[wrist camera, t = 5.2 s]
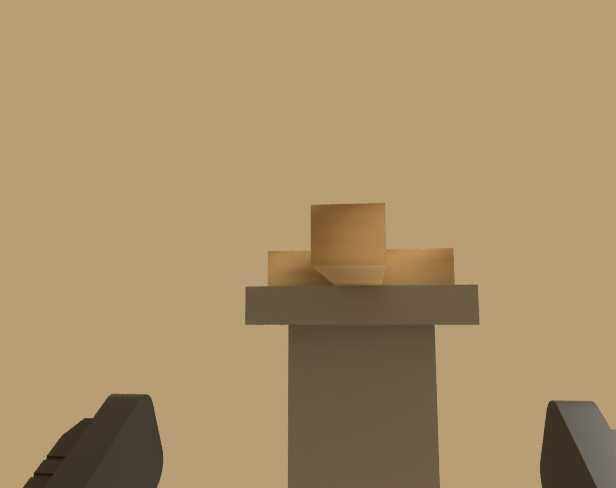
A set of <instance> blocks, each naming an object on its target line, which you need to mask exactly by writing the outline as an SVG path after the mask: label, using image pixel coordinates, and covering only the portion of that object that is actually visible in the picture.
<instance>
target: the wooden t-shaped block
mask: <svg viewBox="0 0 616 488" xmlns="http://www.w3.org/2000/svg"><path fill="white" fill-rule="evenodd" d="M385 237H386V236H385V203H371V204H370V203H368V204H331V205H311V251H269V252H268V286H379V285H454V259H453V248H445V249H386V238H385Z"/></svg>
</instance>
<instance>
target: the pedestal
mask: <svg viewBox="0 0 616 488" xmlns="http://www.w3.org/2000/svg"><path fill="white" fill-rule="evenodd" d="M245 324H247V325H248V324H249V325H250V324H251V325H252V324H253V325H264V324H266V325H271V324H273V325H276V324H277V325H279V324H280V325H286V324H288V325H289V358H288V359H289V360H288V361H289V362H288V364H289V365H288V375H289V376H288V379H289V380H288V488H440V481H439V452H438V420H437V392H436V390H437V389H436V359H435V329H434V325H435V324H436V325H458V324H459V325H461V324H462V325H468V324H469V325H475V324H476V325H479V306H478V285H379V286H264V287H263V286H262V287H246V308H245Z"/></svg>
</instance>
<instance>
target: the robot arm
mask: <svg viewBox="0 0 616 488" xmlns="http://www.w3.org/2000/svg"><path fill="white" fill-rule="evenodd" d="M162 467H163V451H162V445H161V441H160V436H159V431H158V426H157V422H156V417H155V412H154V407H153V403H152V400H151V398H150V396H149V395H146V394H112V395H110V396H109V397H108V398H107V399H106V401H105V402H104V403H103V405H102V406H101V408H100V409H99V410H98V412H97V413H96V415H95V416H94V418H93V419H92V418H85V419H83V420H82V421H80V422H79V423H78V424H77V425H75V426H74V427H73V428H71V429H70V430H69V431H68V432H66V433H65V434H63V435H62V436H61V438H60V439H59V440H58V442H57V443H56V444H55V446H54V447H53V448H52V450H51V451H50V452H49V454H48V455H47V459H46V460H43V462H42V463H41V464H40V466H39V467H38V469H37V470H36V471H35V472H34V477H31V478H30V479H29V480H28V482H27V483H26V484H25V486H24V487H23V488H157V485H158V483H159V480H160V477H161V473H162ZM540 474H541V483H542V488H616V430H611V429H610V427H609V426H608V424H607V422H606V420H605V418H604V417H603V415H602V414H601V412H600V410H599V408H598V407H597V405H596V404H595V403H594V402H592V401H550V402H549V404H548V407H547V413H546V421H545V428H544V436H543V444H542V452H541V461H540Z"/></svg>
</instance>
